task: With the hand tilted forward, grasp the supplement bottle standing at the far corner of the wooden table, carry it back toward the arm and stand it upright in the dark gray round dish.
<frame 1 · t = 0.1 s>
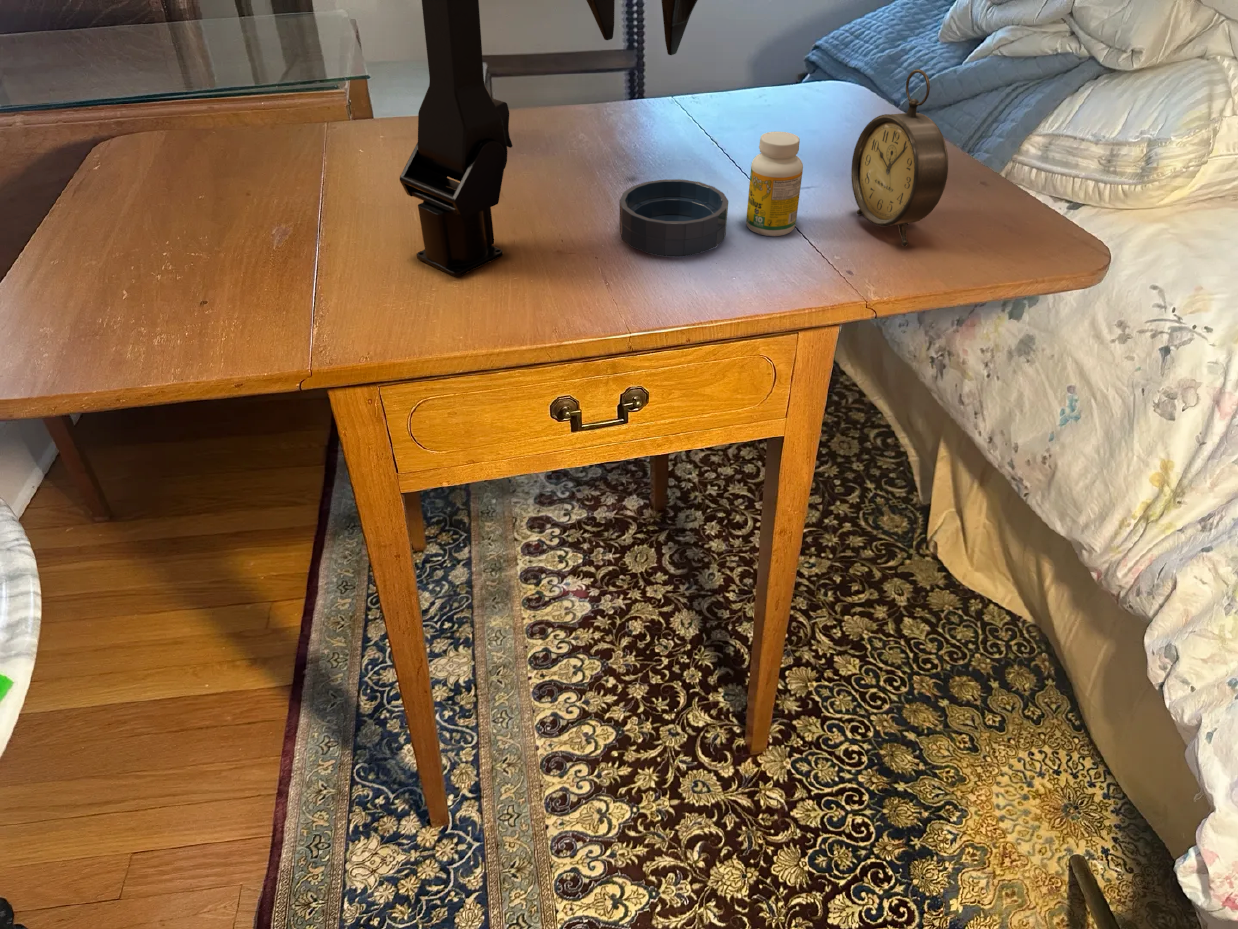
hand: (639, 46, 95), 15 cm above the table, tool pointing down, fingers open, 9 cm apart
supplement bottle: (769, 228, 94), on the table
dark gray round dish: (672, 236, 92), on the table
alarm clock: (888, 230, 94), on the table
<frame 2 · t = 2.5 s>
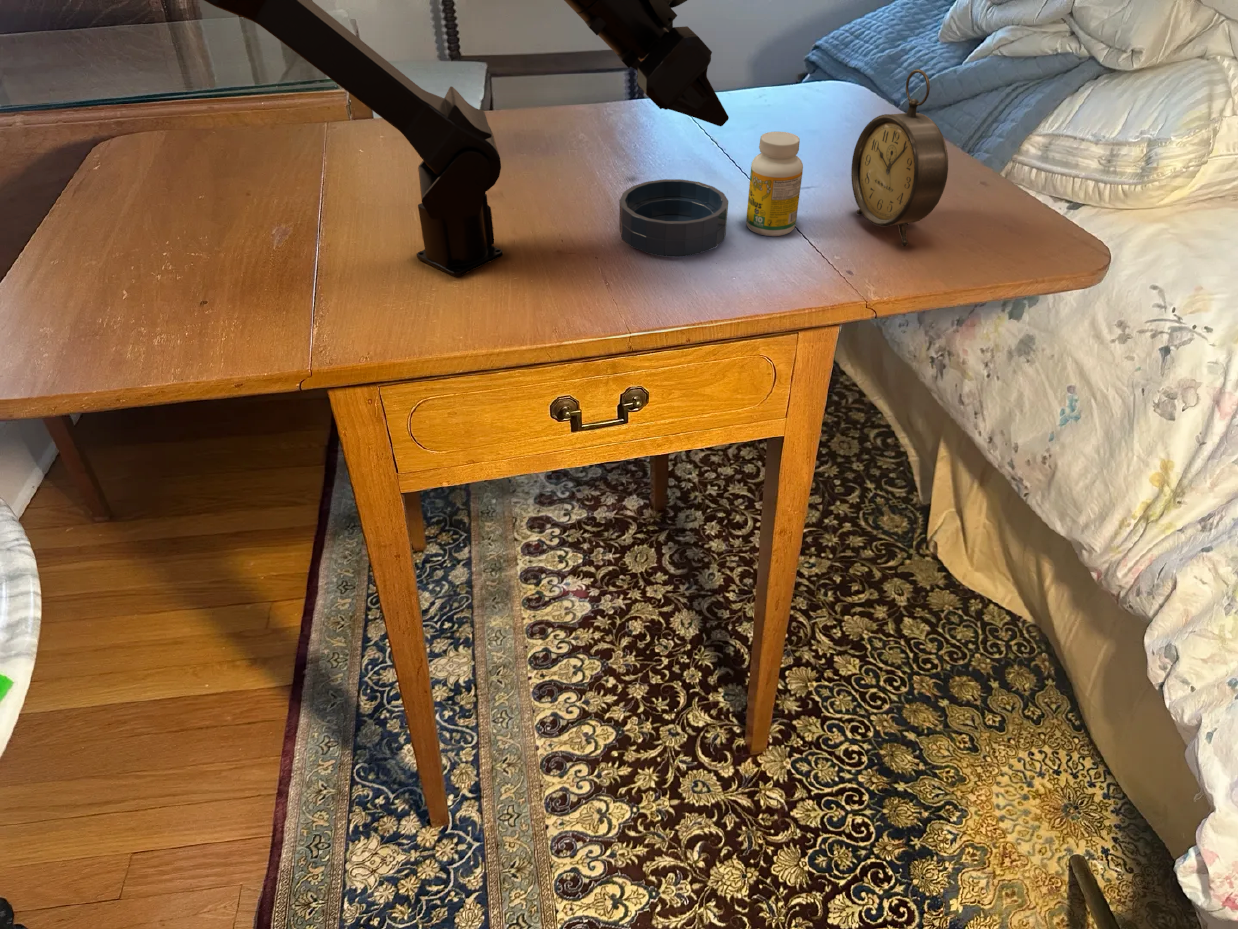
hand: (710, 106, 84), 13 cm above the table, tool tilted 45°, fingers open, 9 cm apart
nothing on the table moved.
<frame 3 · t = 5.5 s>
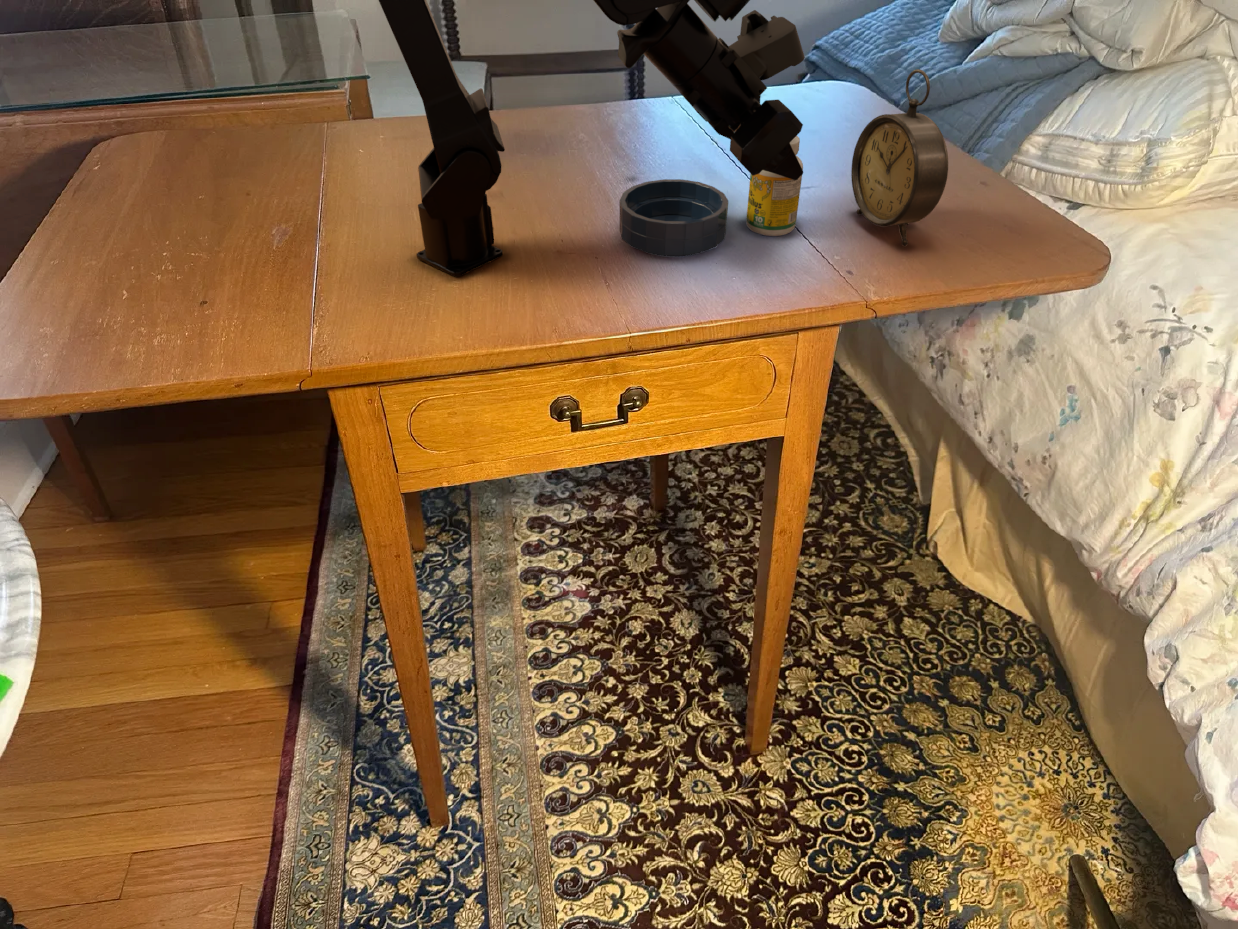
hand: (789, 165, 90), 7 cm above the table, tool tilted 45°, fingers closed on supplement bottle, 5 cm apart
supplement bottle: (769, 228, 94), on the table, touching gripper
everything else where it was.
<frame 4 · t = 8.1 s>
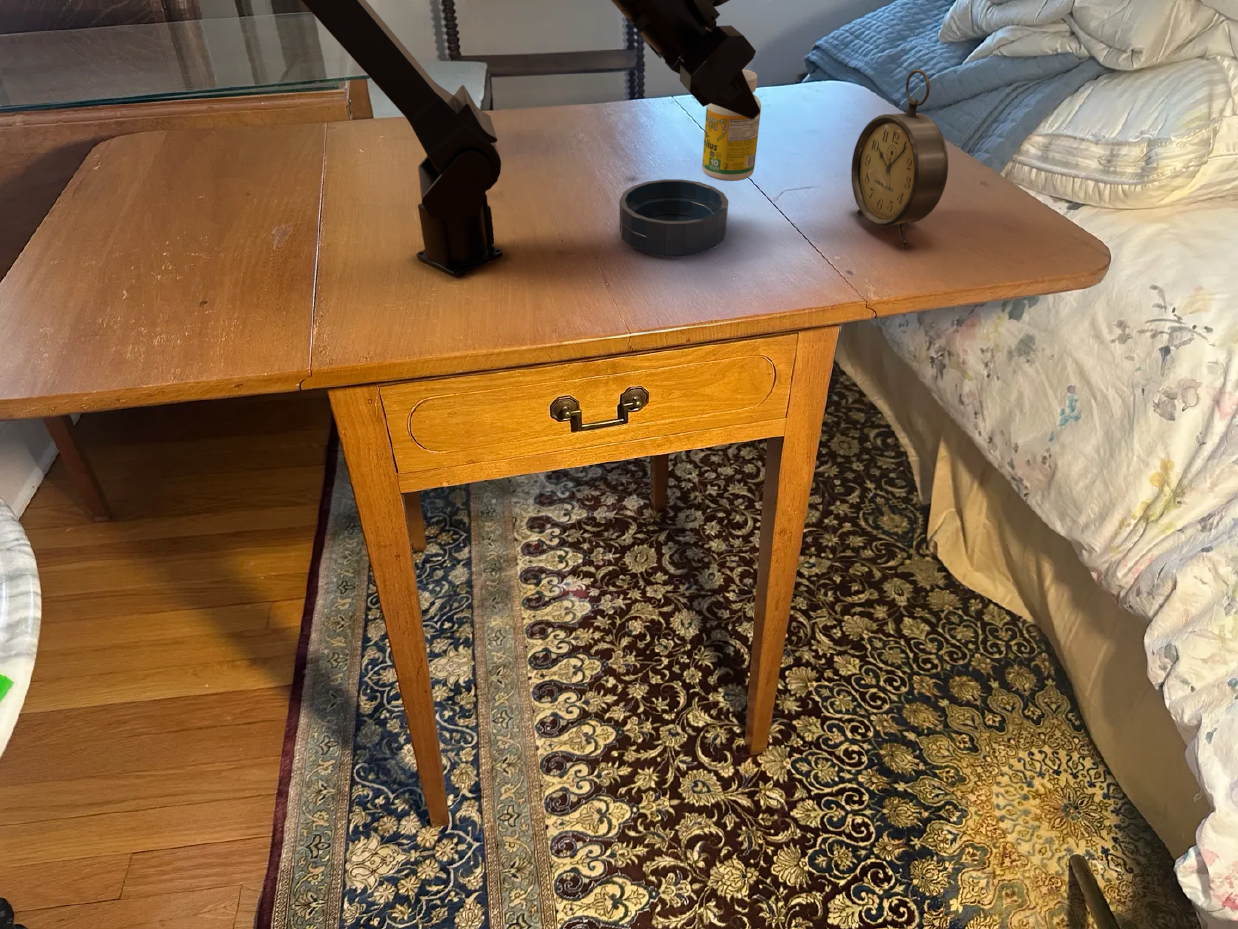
hand: (747, 105, 85), 13 cm above the table, tool tilted 45°, fingers closed on supplement bottle, 5 cm apart
supplement bottle: (727, 173, 89), point 6 cm above the table, touching gripper
everything else where it was.
when the fingers open (7 cm above the table, at t = 11.2 s): supplement bottle stays where it is, resting on dark gray round dish.
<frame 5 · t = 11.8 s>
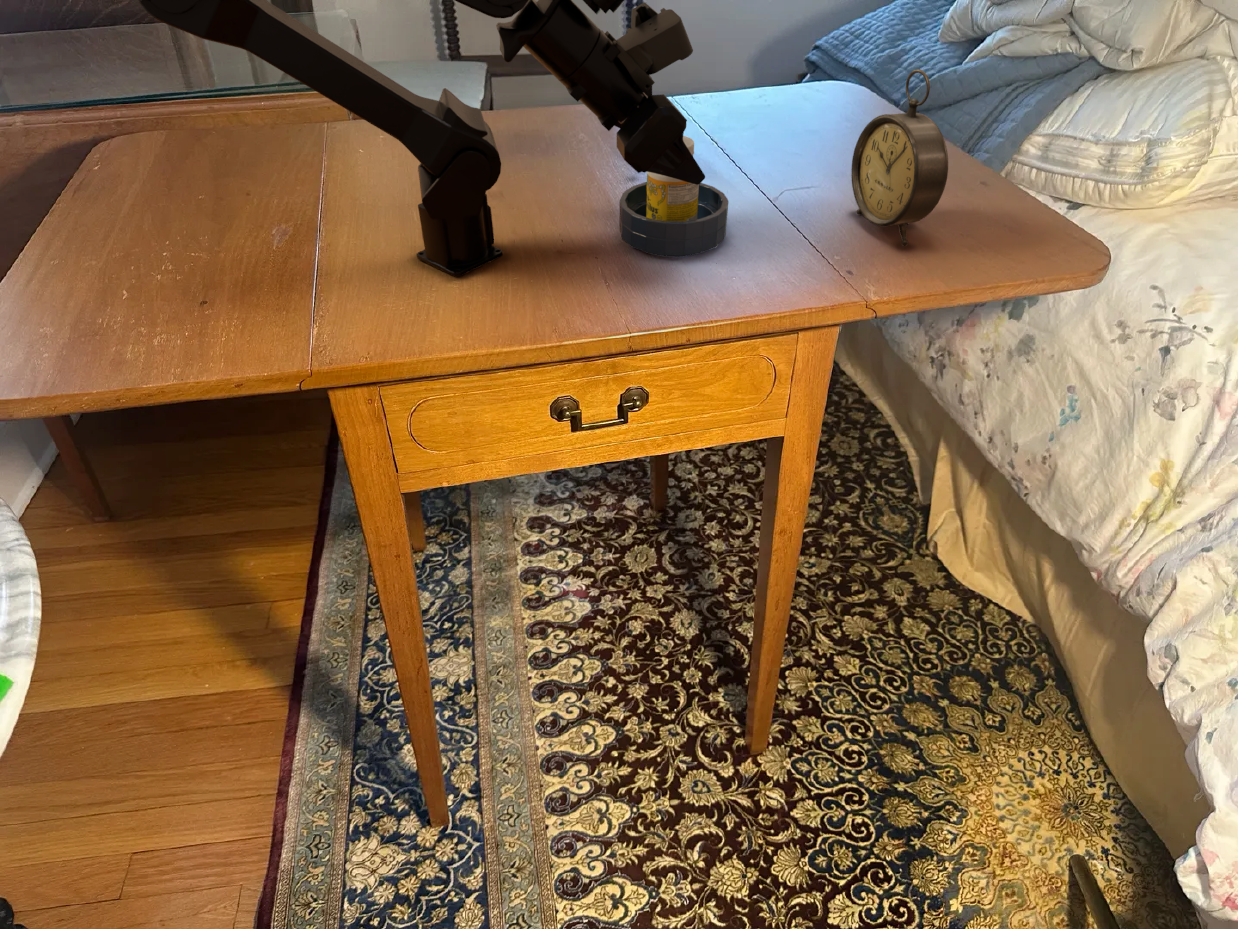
hand: (688, 163, 87), 8 cm above the table, tool tilted 45°, fingers open, 9 cm apart
supplement bottle: (670, 233, 92), resting on dark gray round dish
everything else where it was.
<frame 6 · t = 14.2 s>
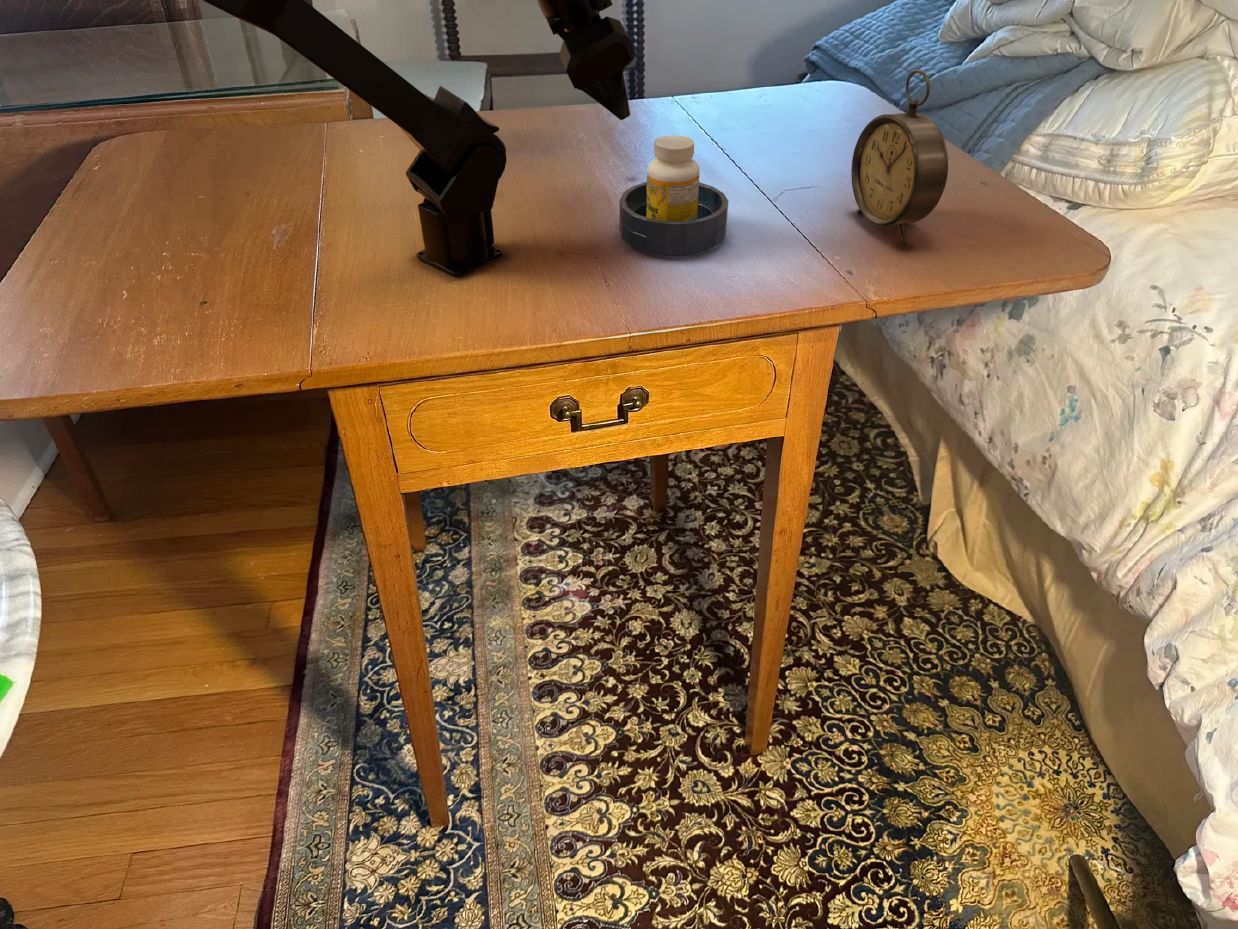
hand: (615, 95, 88), 13 cm above the table, tool tilted 25°, fingers open, 9 cm apart
nothing on the table moved.
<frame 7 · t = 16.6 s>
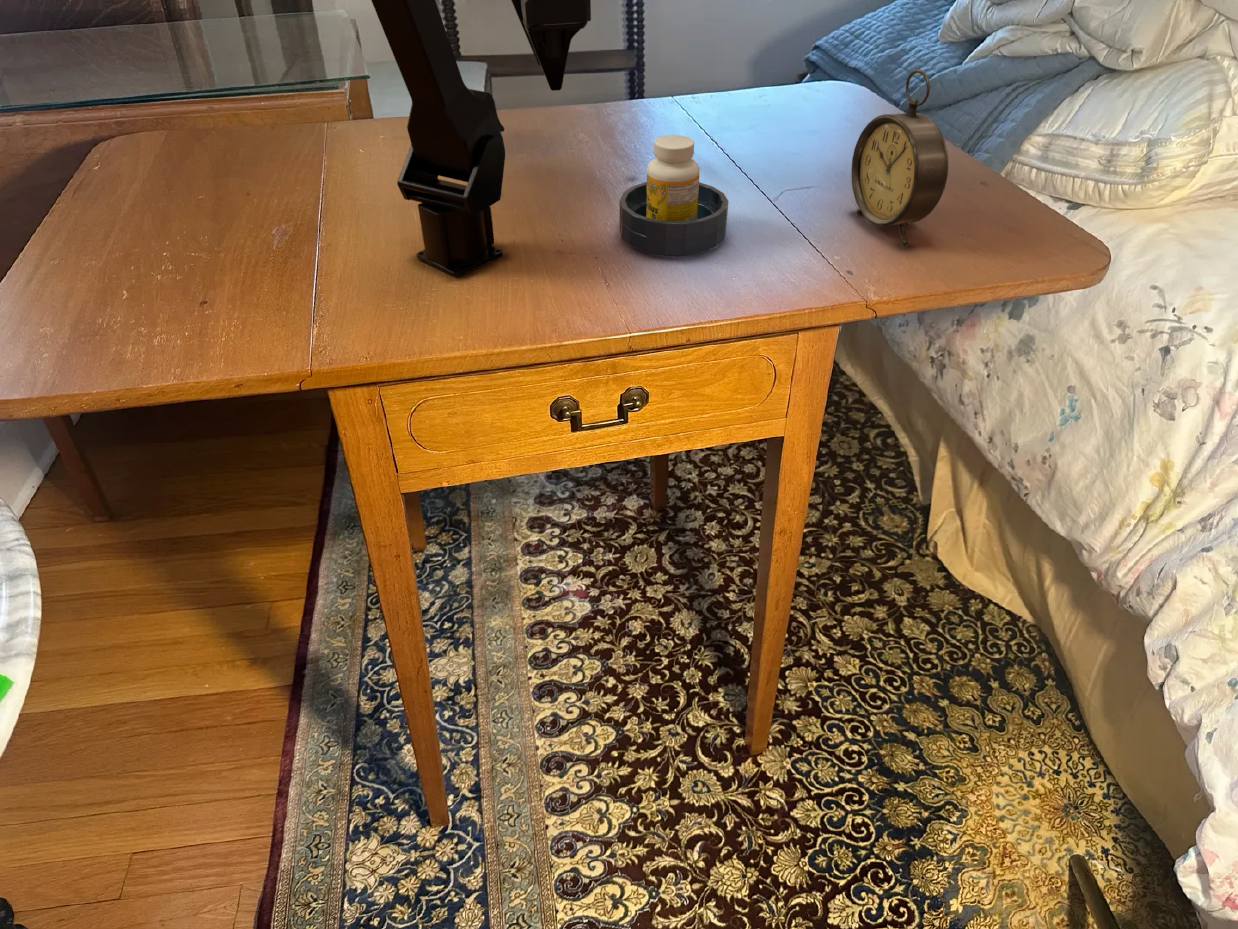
hand: (549, 76, 93), 13 cm above the table, tool pointing down, fingers open, 9 cm apart
nothing on the table moved.
at the end: supplement bottle 0.1 cm off-centre in the dark gray round dish, point 0.3 cm above the dark gray round dish's base; supplement bottle tilted 0°; the gripper is holding nothing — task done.
